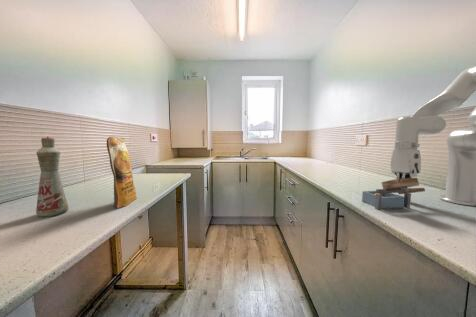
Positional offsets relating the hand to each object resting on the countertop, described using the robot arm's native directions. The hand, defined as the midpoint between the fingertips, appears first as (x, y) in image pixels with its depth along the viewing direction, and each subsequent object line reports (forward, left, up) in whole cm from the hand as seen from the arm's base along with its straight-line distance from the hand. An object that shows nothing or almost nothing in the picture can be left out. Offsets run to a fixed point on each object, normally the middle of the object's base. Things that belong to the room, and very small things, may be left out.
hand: (402, 188), depth 88 cm
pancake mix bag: (+119, -13, -6) cm, 120 cm away
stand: (+13, +8, -6) cm, 16 cm away
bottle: (+140, -3, -6) cm, 140 cm away
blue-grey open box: (+13, +3, -6) cm, 14 cm away
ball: (+13, +1, -3) cm, 13 cm away
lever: (+8, +7, 0) cm, 11 cm away
